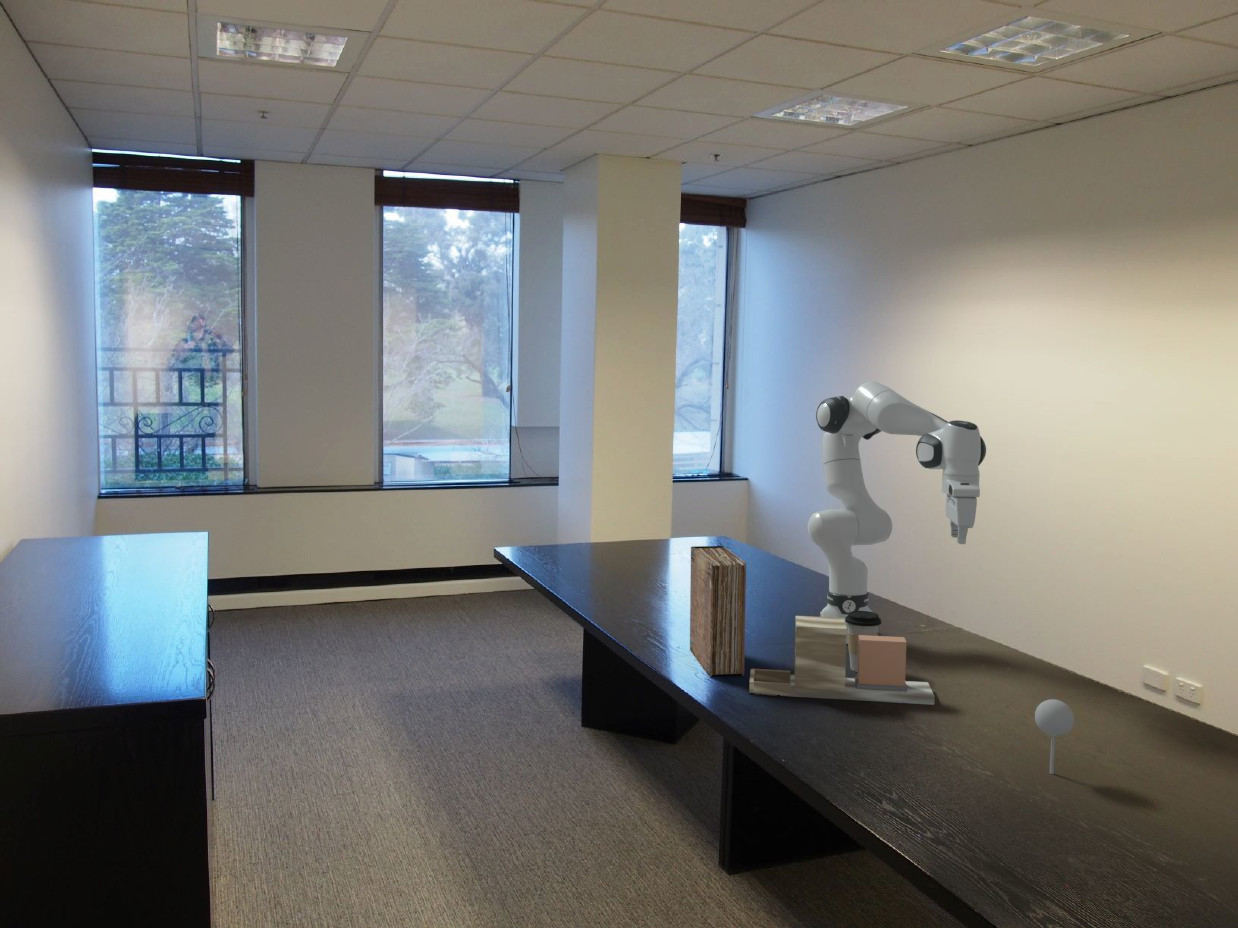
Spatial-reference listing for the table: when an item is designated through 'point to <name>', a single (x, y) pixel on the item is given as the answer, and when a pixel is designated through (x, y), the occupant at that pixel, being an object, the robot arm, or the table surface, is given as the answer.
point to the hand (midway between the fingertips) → (958, 540)
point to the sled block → (881, 663)
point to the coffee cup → (860, 631)
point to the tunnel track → (827, 669)
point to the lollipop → (1054, 721)
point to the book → (717, 610)
